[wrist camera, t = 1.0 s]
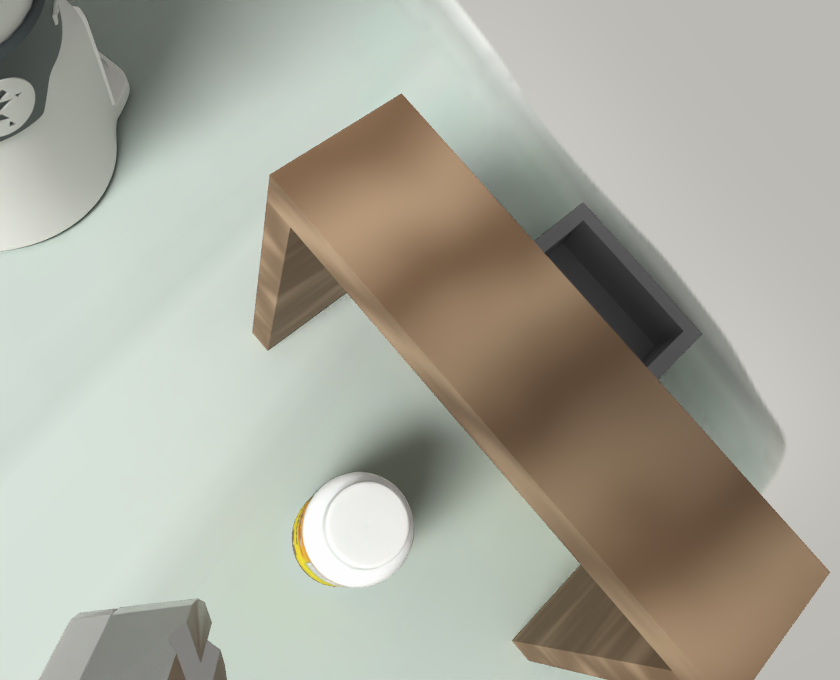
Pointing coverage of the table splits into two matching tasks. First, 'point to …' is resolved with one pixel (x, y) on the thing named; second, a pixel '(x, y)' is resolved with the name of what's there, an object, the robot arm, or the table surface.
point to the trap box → (619, 289)
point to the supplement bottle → (353, 531)
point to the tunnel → (540, 406)
